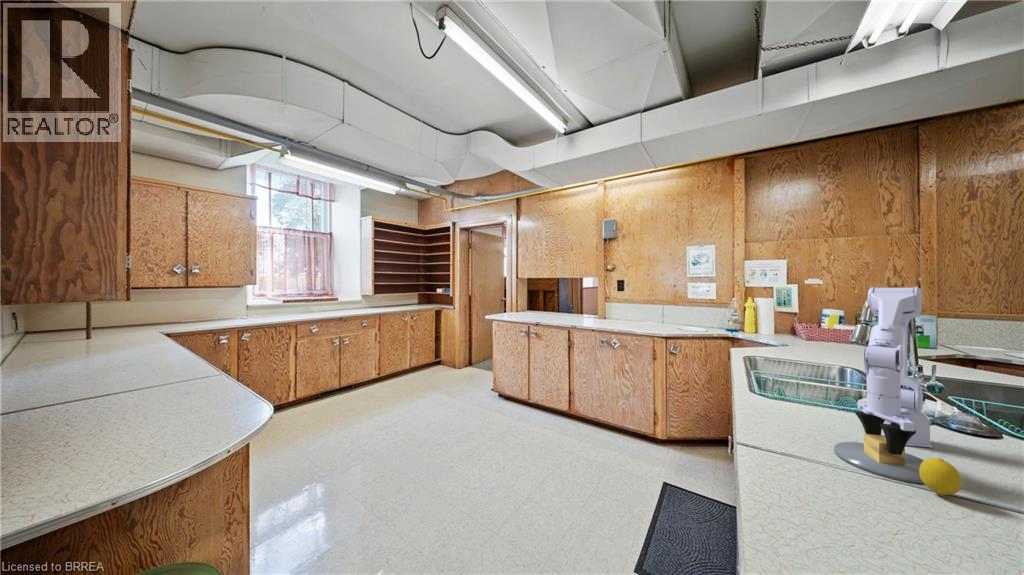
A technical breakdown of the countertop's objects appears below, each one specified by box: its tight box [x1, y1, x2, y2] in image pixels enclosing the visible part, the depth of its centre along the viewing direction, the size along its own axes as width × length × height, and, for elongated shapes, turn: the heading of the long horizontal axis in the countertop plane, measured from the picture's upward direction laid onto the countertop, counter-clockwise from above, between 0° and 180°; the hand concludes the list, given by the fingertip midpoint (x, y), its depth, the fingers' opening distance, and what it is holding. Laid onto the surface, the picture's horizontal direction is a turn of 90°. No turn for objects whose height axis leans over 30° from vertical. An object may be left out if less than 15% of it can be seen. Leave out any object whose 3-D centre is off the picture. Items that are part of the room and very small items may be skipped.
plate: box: [833, 441, 925, 484], centre depth 83 cm, size 18×18×1 cm
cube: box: [863, 433, 906, 465], centre depth 83 cm, size 5×5×5 cm
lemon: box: [919, 457, 962, 497], centre depth 70 cm, size 6×6×8 cm
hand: (883, 447), depth 83 cm, fingers open, 6 cm apart
